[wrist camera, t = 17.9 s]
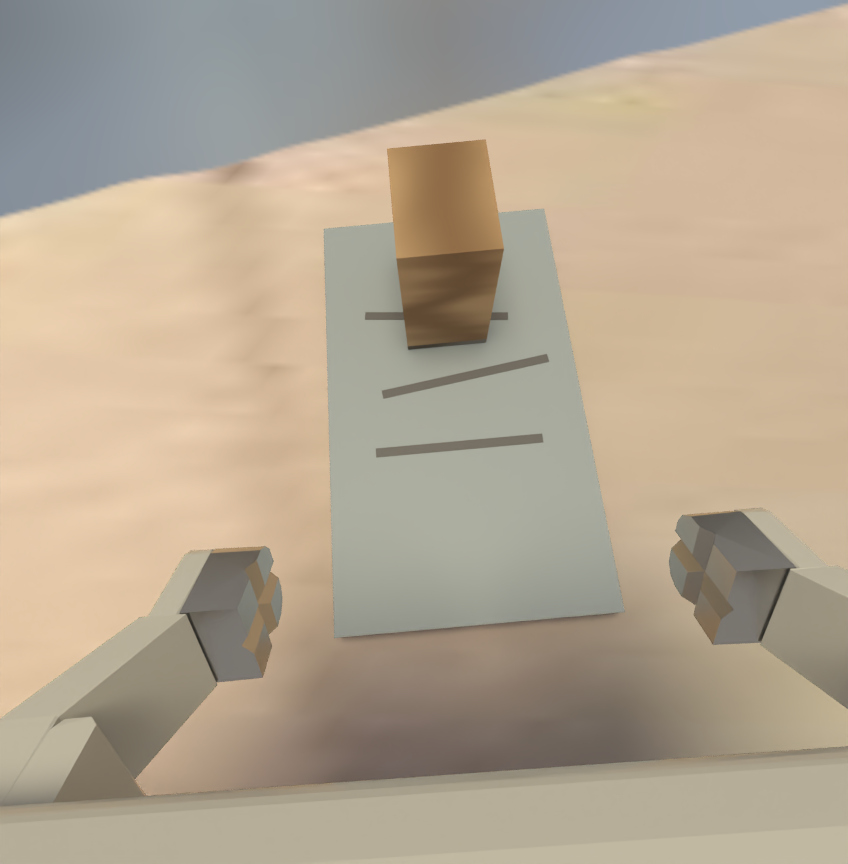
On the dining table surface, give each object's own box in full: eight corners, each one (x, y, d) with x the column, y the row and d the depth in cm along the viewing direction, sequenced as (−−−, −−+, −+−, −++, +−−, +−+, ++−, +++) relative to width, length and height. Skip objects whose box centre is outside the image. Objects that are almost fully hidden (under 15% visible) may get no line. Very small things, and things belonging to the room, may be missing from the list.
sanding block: (408, 349, 28) (396, 258, 20) (400, 262, 29) (387, 148, 22) (485, 342, 28) (504, 248, 20) (473, 255, 29) (485, 139, 22)
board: (340, 634, 24) (334, 637, 23) (329, 244, 32) (323, 228, 30) (613, 610, 24) (625, 612, 23) (539, 225, 32) (544, 208, 30)
